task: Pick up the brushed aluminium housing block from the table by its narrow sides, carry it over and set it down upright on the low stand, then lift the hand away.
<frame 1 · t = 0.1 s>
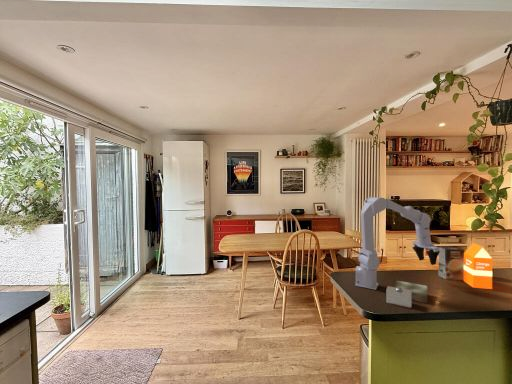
hand: (427, 262, 127), 11 cm above the countertop, tool pointing down, fingers open, 7 cm apart
stand: (411, 295, 112), on the countertop
housing: (398, 303, 105), on the countertop
coffee box: (450, 278, 134), on the countertop
orange juice: (477, 285, 124), on the countertop
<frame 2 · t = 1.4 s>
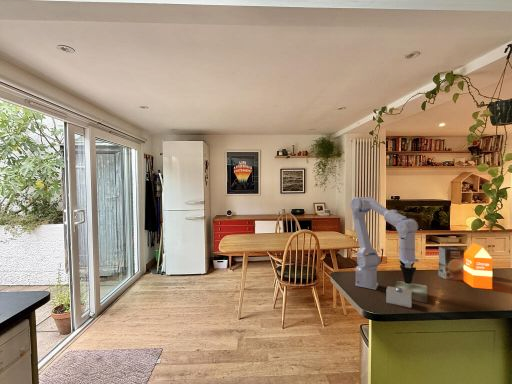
hand: (407, 280, 105), 10 cm above the countertop, tool pointing down, fingers open, 7 cm apart
nothing on the countertop moved.
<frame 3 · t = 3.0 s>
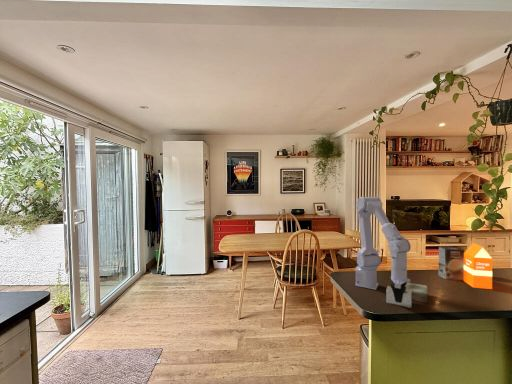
hand: (398, 299, 105), 1 cm above the countertop, tool pointing down, fingers closed on housing, 5 cm apart
housing: (398, 302, 105), on the countertop, touching gripper
everything else where it was.
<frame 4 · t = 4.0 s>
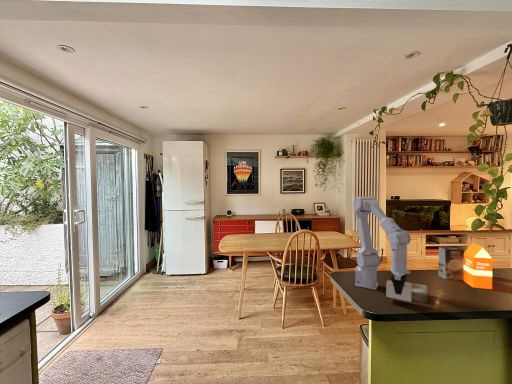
hand: (398, 291, 105), 5 cm above the countertop, tool pointing down, fingers closed on housing, 5 cm apart
housing: (398, 297, 105), point 2 cm above the countertop, touching gripper
everything else where it was.
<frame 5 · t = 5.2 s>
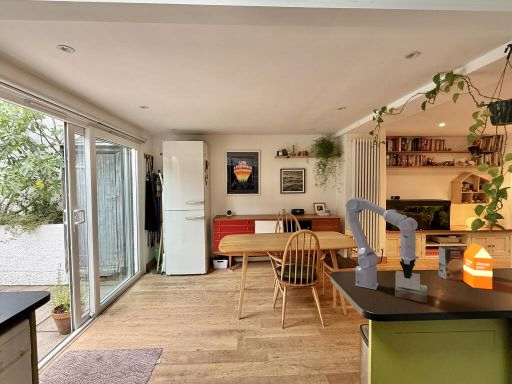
hand: (407, 276, 110), 9 cm above the countertop, tool pointing down, fingers closed on housing, 5 cm apart
housing: (407, 286, 110), point 5 cm above the countertop, touching gripper
everything else where it was.
when the fingers open (8 cm above the countertop, at t = 6.4 s): housing stays where it is, resting on stand.
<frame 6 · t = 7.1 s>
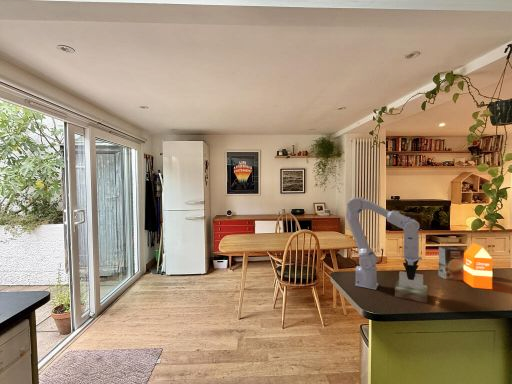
hand: (411, 276, 112), 8 cm above the countertop, tool pointing down, fingers open, 7 cm apart
housing: (411, 286, 112), point 4 cm above the countertop, touching stand
everything else where it was.
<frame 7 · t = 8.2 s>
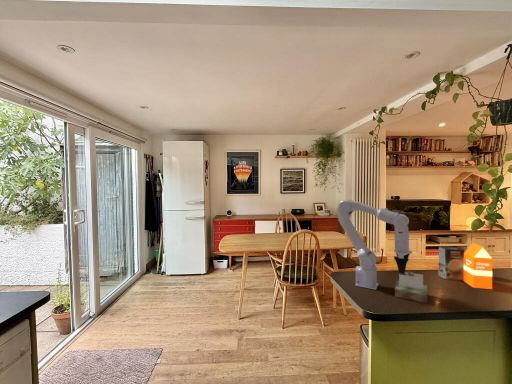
hand: (402, 270, 115), 10 cm above the countertop, tool pointing down, fingers open, 7 cm apart
nothing on the countertop moved.
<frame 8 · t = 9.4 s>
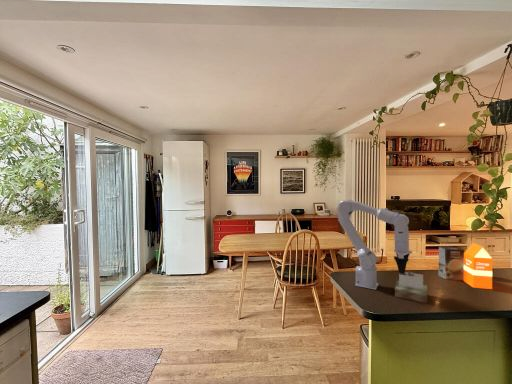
hand: (402, 270, 115), 10 cm above the countertop, tool pointing down, fingers open, 7 cm apart
nothing on the countertop moved.
at the end: housing inside the target area on the stand (0.0 cm from its centre), point 4.0 cm above the stand's base; housing tilted 0°; the gripper is holding nothing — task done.
